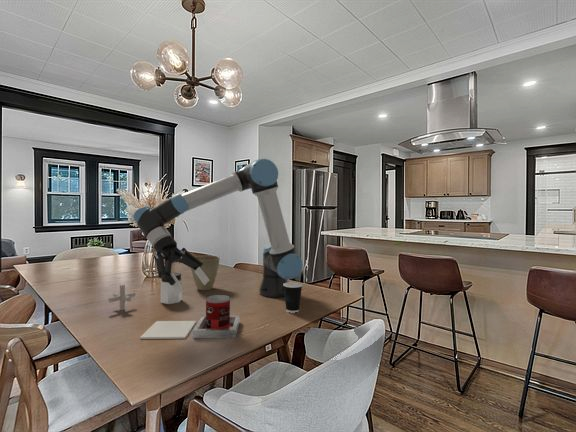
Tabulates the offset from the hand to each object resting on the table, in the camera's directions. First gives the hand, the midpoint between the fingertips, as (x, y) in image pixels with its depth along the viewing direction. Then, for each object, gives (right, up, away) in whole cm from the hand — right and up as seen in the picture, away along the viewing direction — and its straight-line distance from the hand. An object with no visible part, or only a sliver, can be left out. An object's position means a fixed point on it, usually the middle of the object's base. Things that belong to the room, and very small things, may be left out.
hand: (194, 286), depth 108 cm
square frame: (+9, -14, -3) cm, 17 cm away
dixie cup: (+35, -14, +17) cm, 41 cm away
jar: (-19, -13, +28) cm, 37 cm away
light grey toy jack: (-34, -13, +16) cm, 40 cm away
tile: (-7, -14, -4) cm, 16 cm away
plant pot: (-10, -13, +51) cm, 53 cm away
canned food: (+9, -14, -3) cm, 17 cm away
